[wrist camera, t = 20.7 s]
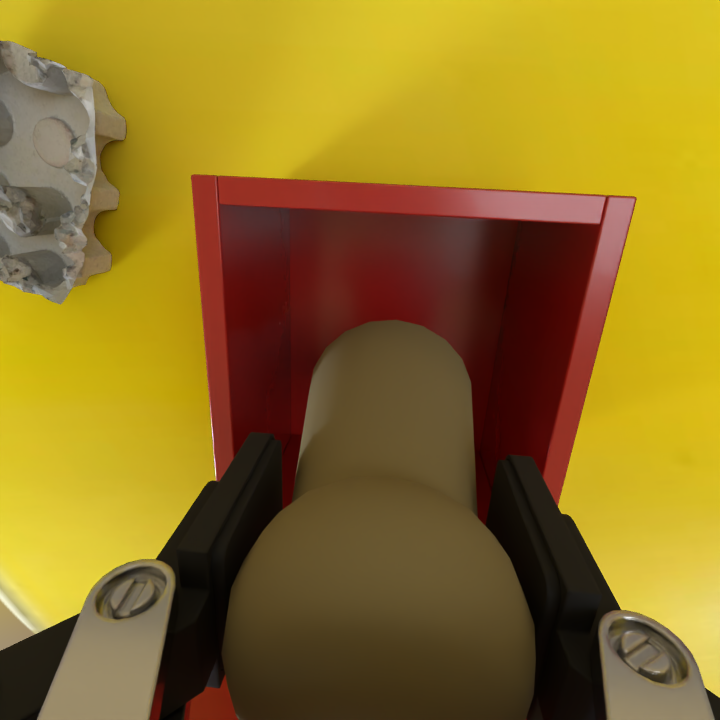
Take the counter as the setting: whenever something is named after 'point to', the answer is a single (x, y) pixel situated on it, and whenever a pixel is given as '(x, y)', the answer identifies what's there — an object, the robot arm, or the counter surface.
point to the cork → (381, 555)
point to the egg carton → (52, 173)
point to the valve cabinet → (406, 302)
